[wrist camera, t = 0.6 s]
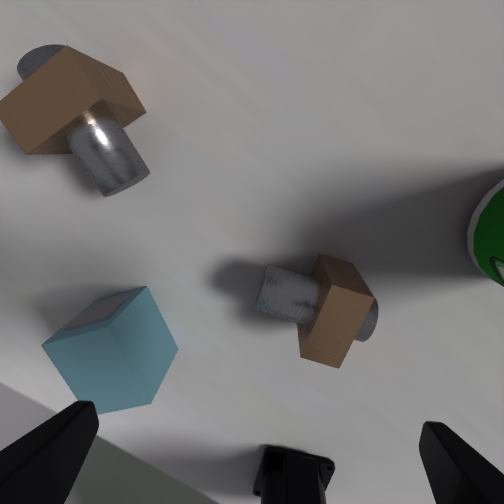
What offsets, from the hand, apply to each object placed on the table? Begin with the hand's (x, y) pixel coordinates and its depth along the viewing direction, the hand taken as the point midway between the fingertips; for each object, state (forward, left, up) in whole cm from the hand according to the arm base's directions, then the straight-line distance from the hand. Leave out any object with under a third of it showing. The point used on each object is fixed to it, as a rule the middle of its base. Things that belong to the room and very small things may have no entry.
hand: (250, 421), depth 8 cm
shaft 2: (-2, -3, -13) cm, 14 cm away
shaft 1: (+6, +11, -13) cm, 18 cm away
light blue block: (-8, +9, -13) cm, 18 cm away
